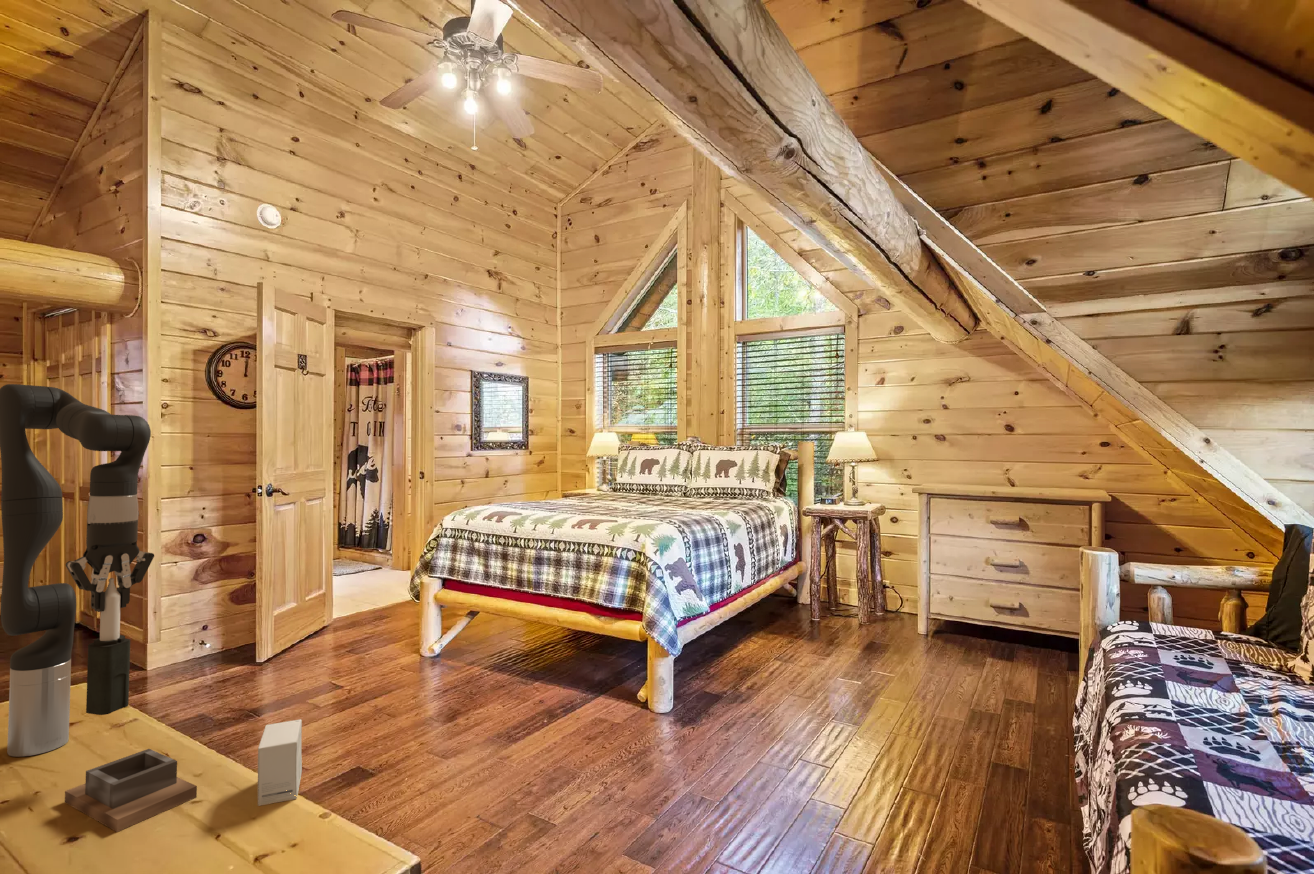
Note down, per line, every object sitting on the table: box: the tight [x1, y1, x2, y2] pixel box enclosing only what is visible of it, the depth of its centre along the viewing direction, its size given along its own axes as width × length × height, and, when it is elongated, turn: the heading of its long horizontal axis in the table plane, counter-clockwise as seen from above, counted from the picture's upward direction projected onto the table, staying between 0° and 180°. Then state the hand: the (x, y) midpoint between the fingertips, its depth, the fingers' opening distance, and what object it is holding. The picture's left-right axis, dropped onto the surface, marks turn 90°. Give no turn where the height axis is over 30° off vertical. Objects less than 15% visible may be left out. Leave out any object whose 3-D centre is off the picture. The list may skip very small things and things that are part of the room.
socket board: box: [64, 748, 198, 833], centre depth 116 cm, size 18×12×6 cm, turn 63°
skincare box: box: [257, 718, 303, 807], centre depth 121 cm, size 10×6×10 cm, turn 24°
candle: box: [85, 577, 131, 716], centre depth 124 cm, size 5×5×25 cm
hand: (110, 608), depth 124 cm, fingers closed on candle, 3 cm apart
